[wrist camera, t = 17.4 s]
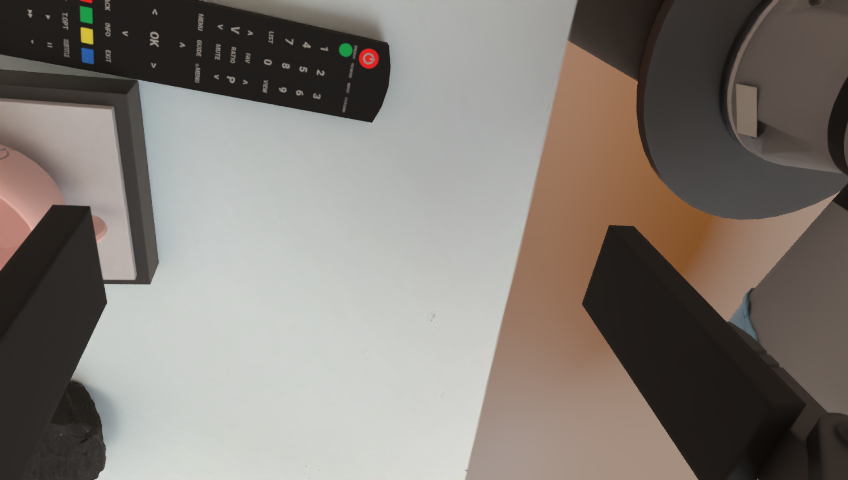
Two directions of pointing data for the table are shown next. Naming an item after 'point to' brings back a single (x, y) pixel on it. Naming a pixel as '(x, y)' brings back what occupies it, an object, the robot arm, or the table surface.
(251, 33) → the remote control
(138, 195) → the scale
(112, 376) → the table surface
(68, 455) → the rock
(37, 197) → the mug
